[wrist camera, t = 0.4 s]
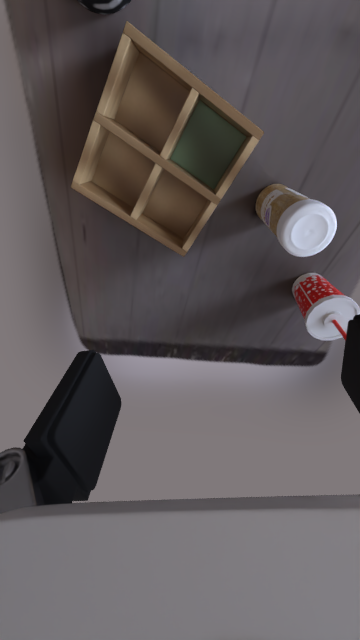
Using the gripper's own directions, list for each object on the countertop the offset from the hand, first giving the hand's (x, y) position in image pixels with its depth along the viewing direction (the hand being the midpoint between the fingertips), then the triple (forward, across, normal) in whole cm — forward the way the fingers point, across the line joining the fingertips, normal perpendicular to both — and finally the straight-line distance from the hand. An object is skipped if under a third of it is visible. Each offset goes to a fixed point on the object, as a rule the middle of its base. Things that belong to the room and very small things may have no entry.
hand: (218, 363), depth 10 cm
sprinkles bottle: (+29, -8, 0) cm, 31 cm away
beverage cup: (+30, -13, +13) cm, 35 cm away
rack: (+29, +4, -7) cm, 30 cm away
